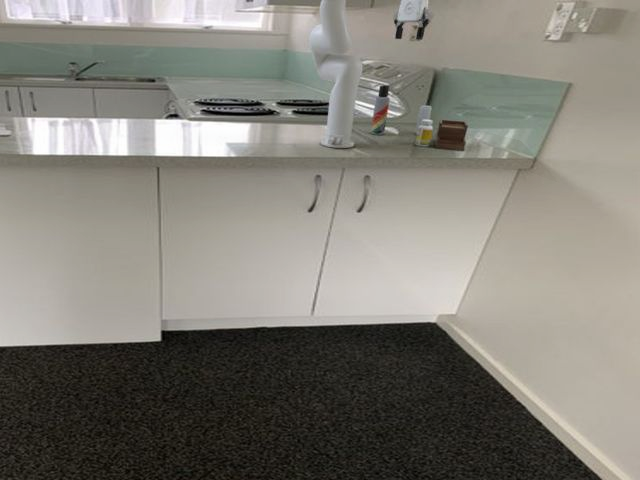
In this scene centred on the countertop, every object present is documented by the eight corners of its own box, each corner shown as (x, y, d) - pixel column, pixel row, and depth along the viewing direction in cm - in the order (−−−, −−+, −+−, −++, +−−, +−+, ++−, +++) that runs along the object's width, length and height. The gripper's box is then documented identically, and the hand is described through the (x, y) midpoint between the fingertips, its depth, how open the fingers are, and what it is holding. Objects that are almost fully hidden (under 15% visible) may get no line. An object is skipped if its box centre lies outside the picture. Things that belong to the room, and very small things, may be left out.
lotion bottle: (376, 135, 181) (384, 86, 172) (367, 133, 186) (374, 84, 176) (386, 134, 183) (394, 85, 174) (377, 132, 188) (385, 84, 179)
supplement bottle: (412, 144, 167) (417, 119, 162) (419, 143, 170) (424, 118, 165) (424, 147, 163) (429, 121, 159) (431, 145, 166) (437, 120, 162)
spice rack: (463, 151, 159) (469, 128, 155) (435, 148, 162) (440, 125, 158) (461, 143, 172) (466, 121, 168) (435, 140, 175) (439, 119, 171)
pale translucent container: (426, 134, 187) (432, 105, 182) (426, 136, 183) (432, 107, 178) (414, 133, 188) (420, 105, 183) (414, 135, 184) (420, 106, 179)
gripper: (392, -13, 159) (384, 38, 167) (431, -16, 147) (421, 39, 155) (404, -11, 163) (396, 39, 171) (444, -14, 151) (433, 39, 159)
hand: (408, 39), depth 163 cm, fingers open, 9 cm apart
